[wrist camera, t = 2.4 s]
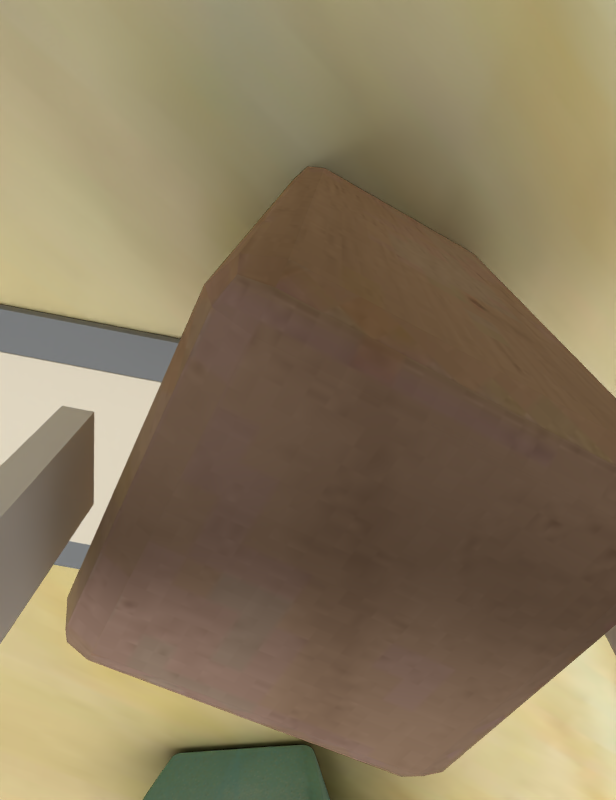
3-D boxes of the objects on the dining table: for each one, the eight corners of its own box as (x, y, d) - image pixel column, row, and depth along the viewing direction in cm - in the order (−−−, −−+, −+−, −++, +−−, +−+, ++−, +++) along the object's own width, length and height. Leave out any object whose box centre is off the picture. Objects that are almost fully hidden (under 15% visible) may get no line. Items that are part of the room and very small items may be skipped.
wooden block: (486, 259, 27) (770, 533, 9) (380, 414, 31) (430, 808, 13) (306, 155, 25) (215, 239, 7) (221, 334, 29) (33, 662, 12)
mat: (-108, 283, 29) (-118, 287, 28) (224, 347, 30) (221, 352, 29) (-63, 536, 37) (-70, 543, 37) (195, 582, 38) (193, 590, 37)
